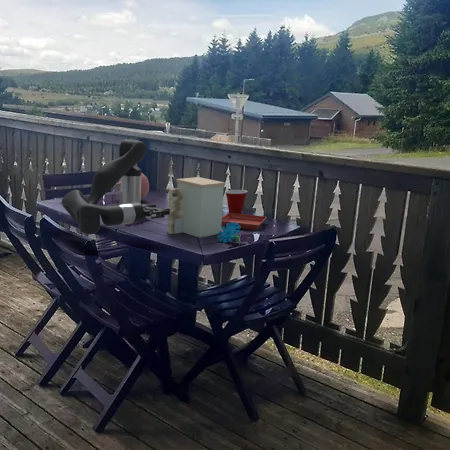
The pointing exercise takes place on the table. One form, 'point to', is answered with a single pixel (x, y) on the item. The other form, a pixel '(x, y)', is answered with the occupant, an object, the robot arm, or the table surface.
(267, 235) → the table surface
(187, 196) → the cabinet
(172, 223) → the tall wooden plank
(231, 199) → the plastic cup
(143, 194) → the balloon
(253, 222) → the plant saucer
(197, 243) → the table surface
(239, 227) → the gear
